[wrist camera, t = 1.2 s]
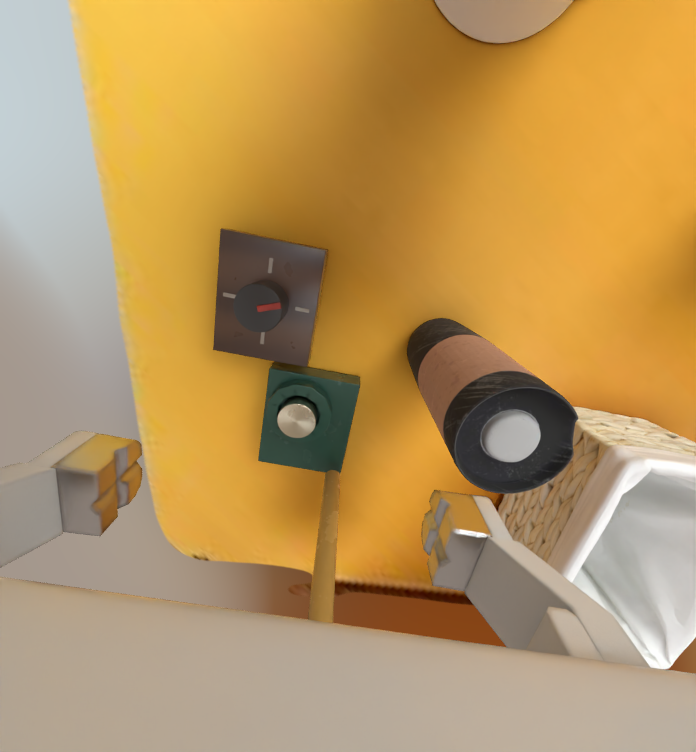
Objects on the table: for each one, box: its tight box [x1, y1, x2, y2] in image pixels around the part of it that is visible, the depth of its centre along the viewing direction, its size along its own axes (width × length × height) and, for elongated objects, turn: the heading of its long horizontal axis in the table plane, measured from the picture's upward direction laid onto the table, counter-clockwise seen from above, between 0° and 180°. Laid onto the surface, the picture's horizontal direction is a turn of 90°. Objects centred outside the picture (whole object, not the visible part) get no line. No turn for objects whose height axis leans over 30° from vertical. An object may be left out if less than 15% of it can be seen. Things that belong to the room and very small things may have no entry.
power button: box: [277, 397, 317, 438], centre depth 37 cm, size 4×4×2 cm
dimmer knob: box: [233, 280, 289, 333], centre depth 33 cm, size 4×4×4 cm
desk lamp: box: [308, 470, 340, 623], centre depth 32 cm, size 13×10×22 cm
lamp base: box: [258, 361, 360, 474], centre depth 40 cm, size 12×10×4 cm
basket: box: [497, 406, 696, 669], centre depth 38 cm, size 24×16×15 cm
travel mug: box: [407, 318, 578, 494], centre depth 30 cm, size 8×8×20 cm
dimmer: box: [213, 228, 328, 367], centre depth 36 cm, size 12×10×3 cm
